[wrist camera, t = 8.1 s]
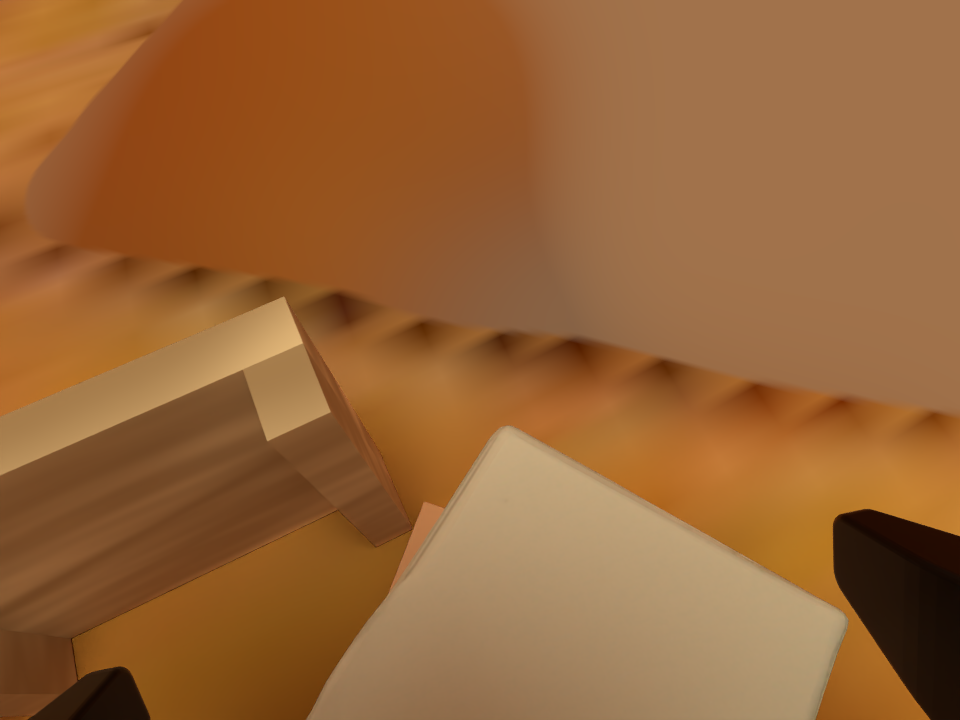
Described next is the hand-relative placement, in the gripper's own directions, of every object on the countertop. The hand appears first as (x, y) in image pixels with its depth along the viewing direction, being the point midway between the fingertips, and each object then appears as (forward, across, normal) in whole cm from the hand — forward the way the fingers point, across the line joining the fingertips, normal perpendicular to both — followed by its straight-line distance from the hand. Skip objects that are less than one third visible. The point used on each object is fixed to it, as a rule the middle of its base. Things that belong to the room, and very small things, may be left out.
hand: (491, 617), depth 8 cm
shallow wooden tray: (+10, +8, +5) cm, 14 cm away
